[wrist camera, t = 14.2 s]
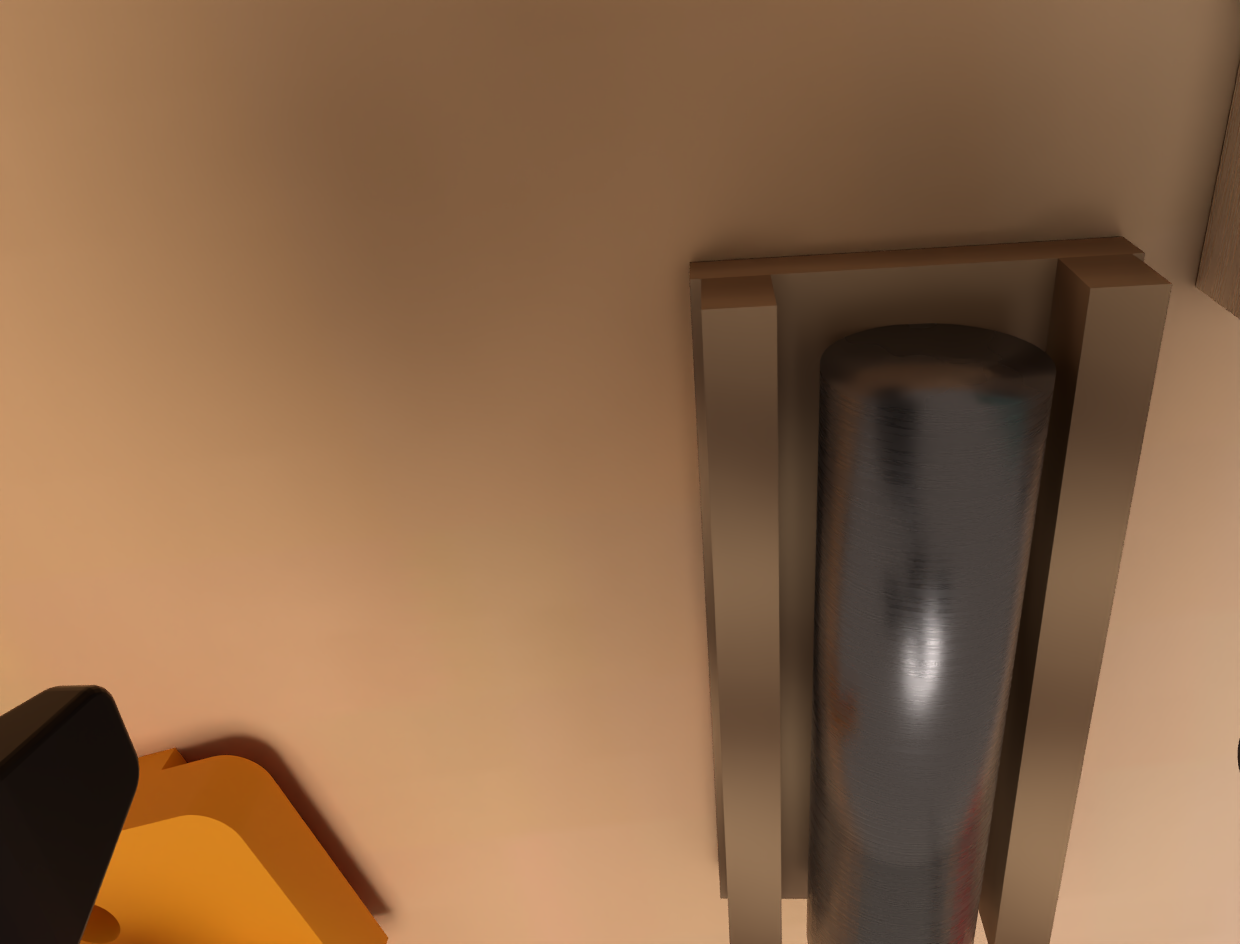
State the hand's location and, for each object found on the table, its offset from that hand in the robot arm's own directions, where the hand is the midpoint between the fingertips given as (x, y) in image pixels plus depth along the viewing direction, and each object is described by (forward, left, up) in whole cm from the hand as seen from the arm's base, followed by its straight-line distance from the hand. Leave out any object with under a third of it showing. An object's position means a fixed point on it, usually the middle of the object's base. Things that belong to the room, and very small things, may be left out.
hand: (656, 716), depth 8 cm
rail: (+8, +4, -12) cm, 15 cm away
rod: (+8, +4, -11) cm, 14 cm away
